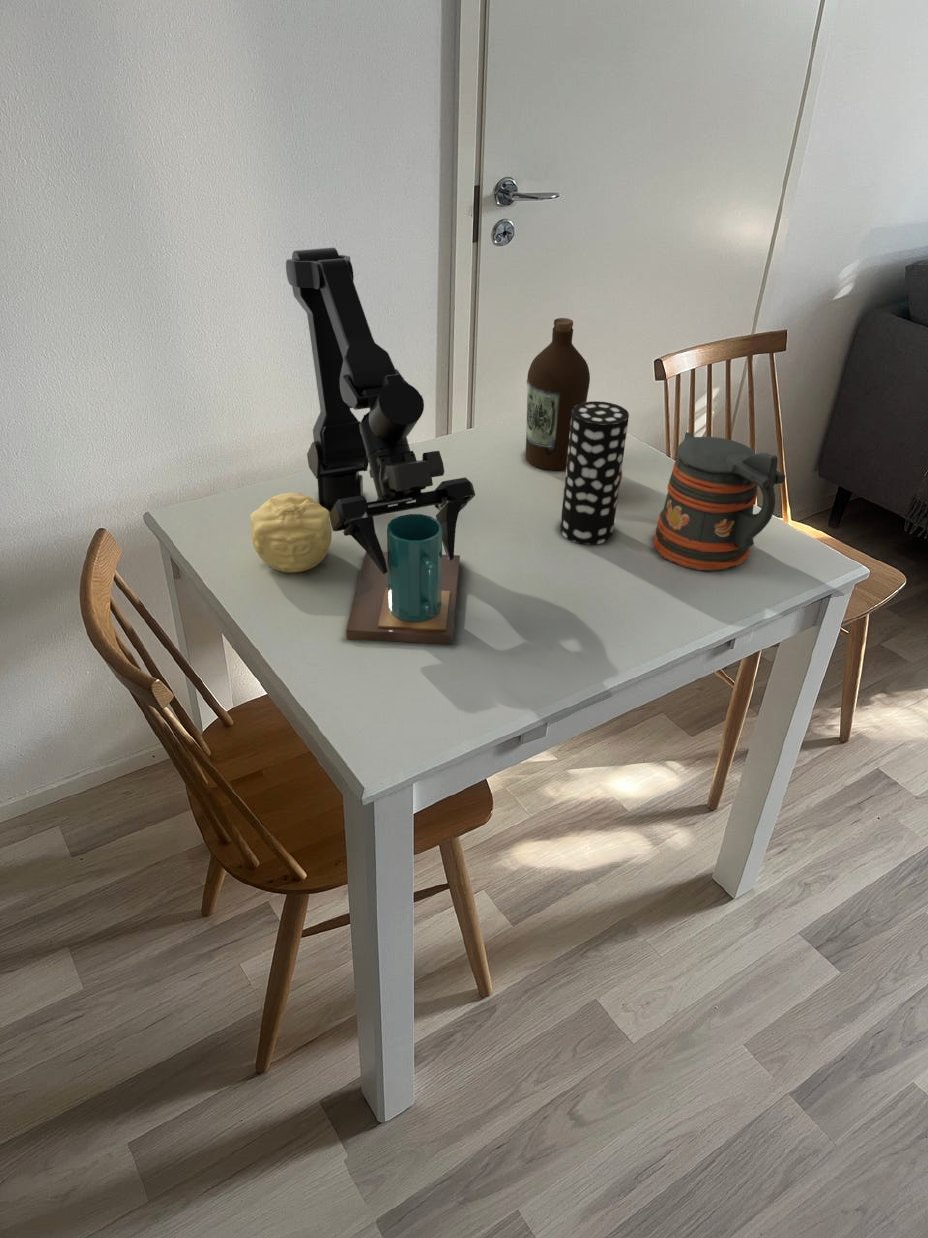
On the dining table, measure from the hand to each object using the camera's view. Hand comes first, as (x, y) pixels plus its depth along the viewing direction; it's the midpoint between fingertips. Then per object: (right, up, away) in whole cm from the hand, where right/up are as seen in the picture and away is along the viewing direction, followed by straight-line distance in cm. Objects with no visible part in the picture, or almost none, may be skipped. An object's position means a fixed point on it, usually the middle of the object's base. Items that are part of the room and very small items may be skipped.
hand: (418, 566), depth 126 cm
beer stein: (+44, +3, +22) cm, 49 cm away
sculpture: (-19, +2, +18) cm, 26 cm away
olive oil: (+21, +22, +48) cm, 56 cm away
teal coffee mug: (0, -6, +4) cm, 8 cm away
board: (-2, -4, +10) cm, 11 cm away
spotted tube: (+25, +7, +27) cm, 38 cm away
